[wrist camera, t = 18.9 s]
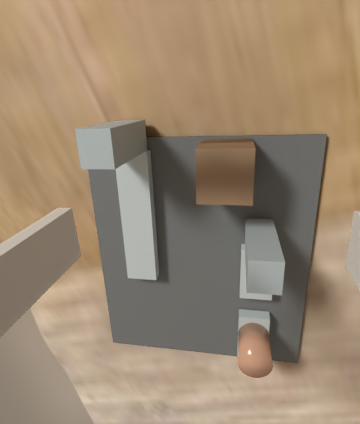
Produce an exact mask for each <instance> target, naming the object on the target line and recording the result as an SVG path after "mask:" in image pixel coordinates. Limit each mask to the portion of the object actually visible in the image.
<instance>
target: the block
mask: <svg viewBox="0 0 360 424" xmlns="http://www.w3.org/2000/svg"><path fill="white" fill-rule="evenodd" d="M255 151H256V148H255V145H254V142H253V139H252V138H245V139H203V140H202V141H201V142H200V144H199V145H198V146H197V147H196V148H195V164H196V204H204V205H245V206H253V191H254V171H255Z"/></svg>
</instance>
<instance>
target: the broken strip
mask: <svg viewBox="0 0 360 424" xmlns="http://www.w3.org/2000/svg"><path fill="white" fill-rule="evenodd" d="M284 270H285V260H284V256H283V253H282V249H281V246H280V242H279V239H278V235H277V232H276V228H275V224H274V221H273V219H256V218H246V223H245V244H241V267H240V298H246V299H259V300H272V295H282V290H283V280H284ZM247 323H258V324H260V325H262V326H264V327H265V328H266V329H267V331H268V334H269V327H270V316H269V312H267V311H256V310H244V309H239V319H238V332H239V329H240V328H241V327H242V326H243V325H245V324H247ZM237 357H238V345H237Z"/></svg>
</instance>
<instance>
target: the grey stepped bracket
mask: <svg viewBox="0 0 360 424" xmlns="http://www.w3.org/2000/svg"><path fill="white" fill-rule="evenodd" d="M75 132H76V139H77V145H78V152H79V158H80V165H81V169H116V177H117V186H118V195H119V204H120V213H121V222H122V231H123V239H124V248H125V257H126V266H127V275H128V278H133V279H147V280H157V278H158V275H159V263H158V249H157V235H156V221H155V207H154V192H153V178H152V164H151V150H147V139H146V126H145V120H118V121H113V122H108V123H103V124H98V125H93V126H88V127H83V128H78V129H75Z"/></svg>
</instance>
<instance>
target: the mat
mask: <svg viewBox="0 0 360 424" xmlns="http://www.w3.org/2000/svg"><path fill="white" fill-rule="evenodd" d="M245 138H252V139H253V142H254V145H255V148H256V151H255V171H254V191H253V206H245V205H204V204H196V164H195V148H196V147H197V146H198V145H199V144H200V142H201V141H202V140H203V139H245ZM326 138H327V135H326V134H312V135H251V136H191V137H146V139H147V150H151V164H152V178H153V192H154V207H155V221H156V235H157V249H158V263H159V275H158V278H157V280H147V279H133V278H128V275H127V266H126V257H125V248H124V239H123V231H122V222H121V213H120V204H119V195H118V186H117V177H116V169H88V171H89V178H90V185H91V192H92V199H93V206H94V213H95V219H96V226H97V233H98V240H99V247H100V254H101V261H102V268H103V275H104V281H105V288H106V295H107V302H108V309H109V316H110V323H111V330H112V337H113V342H115V343H124V344H133V345H142V346H151V347H159V348H168V349H177V350H186V351H195V352H204V353H213V354H222V355H231V356H237V345H238V319H239V309H244V310H256V311H267V312H269V316H270V327H269V341H270V349H271V357H272V360H275V361H284V362H293V363H297V360H298V352H299V345H300V337H301V329H302V322H303V314H304V306H305V299H306V291H307V283H308V276H309V268H310V260H311V253H312V245H313V237H314V230H315V222H316V214H317V207H318V199H319V191H320V184H321V176H322V168H323V161H324V153H325V145H326ZM246 218H256V219H273V221H274V224H275V228H276V232H277V235H278V239H279V242H280V246H281V249H282V253H283V256H284V260H285V270H284V280H283V290H282V295H272V300H259V299H246V298H240V267H241V244H245V223H246Z"/></svg>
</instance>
